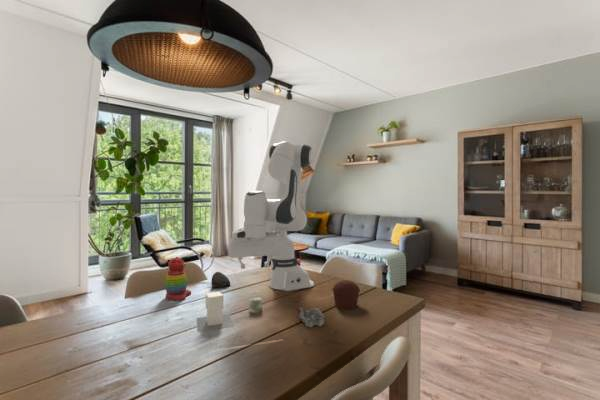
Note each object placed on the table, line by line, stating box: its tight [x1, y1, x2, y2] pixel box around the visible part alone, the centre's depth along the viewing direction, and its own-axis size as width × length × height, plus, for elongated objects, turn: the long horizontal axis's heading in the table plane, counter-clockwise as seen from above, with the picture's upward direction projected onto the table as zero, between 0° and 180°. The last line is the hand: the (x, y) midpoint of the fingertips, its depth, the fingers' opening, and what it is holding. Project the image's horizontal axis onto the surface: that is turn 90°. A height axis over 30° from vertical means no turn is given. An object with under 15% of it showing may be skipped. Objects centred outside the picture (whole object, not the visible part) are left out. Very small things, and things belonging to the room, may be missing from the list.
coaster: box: [196, 313, 234, 333], centre depth 113 cm, size 12×12×1 cm
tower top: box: [205, 291, 224, 312], centre depth 113 cm, size 5×5×5 cm
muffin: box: [331, 279, 361, 310], centre depth 131 cm, size 12×11×10 cm
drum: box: [248, 297, 263, 314], centre depth 124 cm, size 5×5×5 cm
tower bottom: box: [206, 309, 223, 326], centre depth 113 cm, size 5×5×5 cm
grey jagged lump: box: [298, 306, 325, 328], centre depth 116 cm, size 11×8×4 cm
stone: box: [210, 271, 231, 288], centre depth 159 cm, size 10×8×10 cm
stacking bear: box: [164, 256, 192, 302], centre depth 142 cm, size 11×10×18 cm
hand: (254, 267), depth 123 cm, fingers open, 8 cm apart
